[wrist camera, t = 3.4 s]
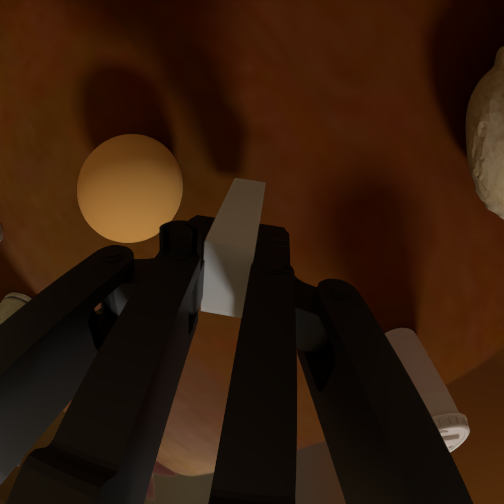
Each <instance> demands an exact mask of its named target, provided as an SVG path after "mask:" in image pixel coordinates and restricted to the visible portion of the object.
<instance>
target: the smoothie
mask: <svg viewBox="0 0 504 504" xmlns="http://www.w3.org/2000/svg"><path fill="white" fill-rule="evenodd" d="M385 335H386V337H387V339H388V340H389V342H390V344H391V345H392V347H393V349H394V350H395V352H396V354H397V355H398V357H399V359H400V361H401V362H402V364H403V366H404V368H405V369H406V371H407V373H408V375H409V376H410V378H411V380H412V382H413V383H414V385H415V387H416V389H417V391H418V392H419V394H420V396H421V398H422V400H423V402H424V403H425V405H426V407H427V409H428V411H429V413H430V415H431V417H432V418H433V420H434V422H435V424H436V426H437V428H438V430H439V432H440V434H441V436H442V438H443V440H444V442H445V444H446V446H447V448H448V450H449V452H451V451H453V450H454V449H455V448H457V447H458V446H459V445H460V444H461V443H463V441H464V440H465V439H466V438H467V436H468V435H469V432H470V431H469V426H468V423H467V418H466V416H465V415H463V414H460V413H459V412H458V410H457V408H456V406H455V404H454V402H453V400H452V398H451V396H450V394H449V393H448V390H447V389H446V387H445V385H444V383H443V381H442V379H441V377H440V376H439V374H438V372H437V370H436V368H435V367H434V365H433V363H432V361H431V359H430V358H429V356H428V354H427V352H426V351H425V349H424V347H423V346H422V344H421V342H420V340H419V339H418V337H417V335H416V334H415V332H414V331H413V330H411V329H408V328H397V329H393V330H390V331H388V332H386V333H385Z"/></svg>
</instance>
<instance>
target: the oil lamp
mask: <svg viewBox="0 0 504 504" xmlns="http://www.w3.org/2000/svg"><path fill="white" fill-rule="evenodd" d="M466 147H467V158H468V164H469V169H470V172H471V176H472V179H473V181H474V184H475V189H476V192H477V193H478V195H479V197H480V198H481V200H482V201H483V202H484V203H485V206H486V208H487V209H488V210H490V211H493V212H494V213H496V214H497V215H498V216H500V217H501V218H502V219H504V46H502V47H501V48H500V49H499V50H498V52H497V54H496V58H495V63H494V66H493V68H492V69H491V70H490V71H488V72H487V73H486V74H485V75H484V76H483V77H482V78H481V79H480V81H479V82H478V84H477V85H476V87H475V89H474V91H473V93H472V95H471V97H470V100H469V103H468V107H467V114H466Z"/></svg>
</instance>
